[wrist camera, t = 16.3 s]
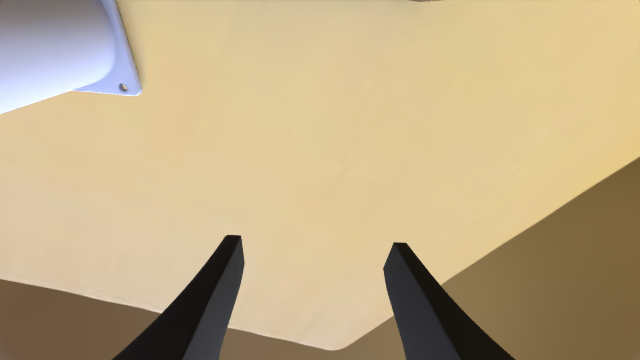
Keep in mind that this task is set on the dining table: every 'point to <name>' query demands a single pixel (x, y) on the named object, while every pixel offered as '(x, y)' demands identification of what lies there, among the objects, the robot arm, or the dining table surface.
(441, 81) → the dining table surface
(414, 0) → the rack
